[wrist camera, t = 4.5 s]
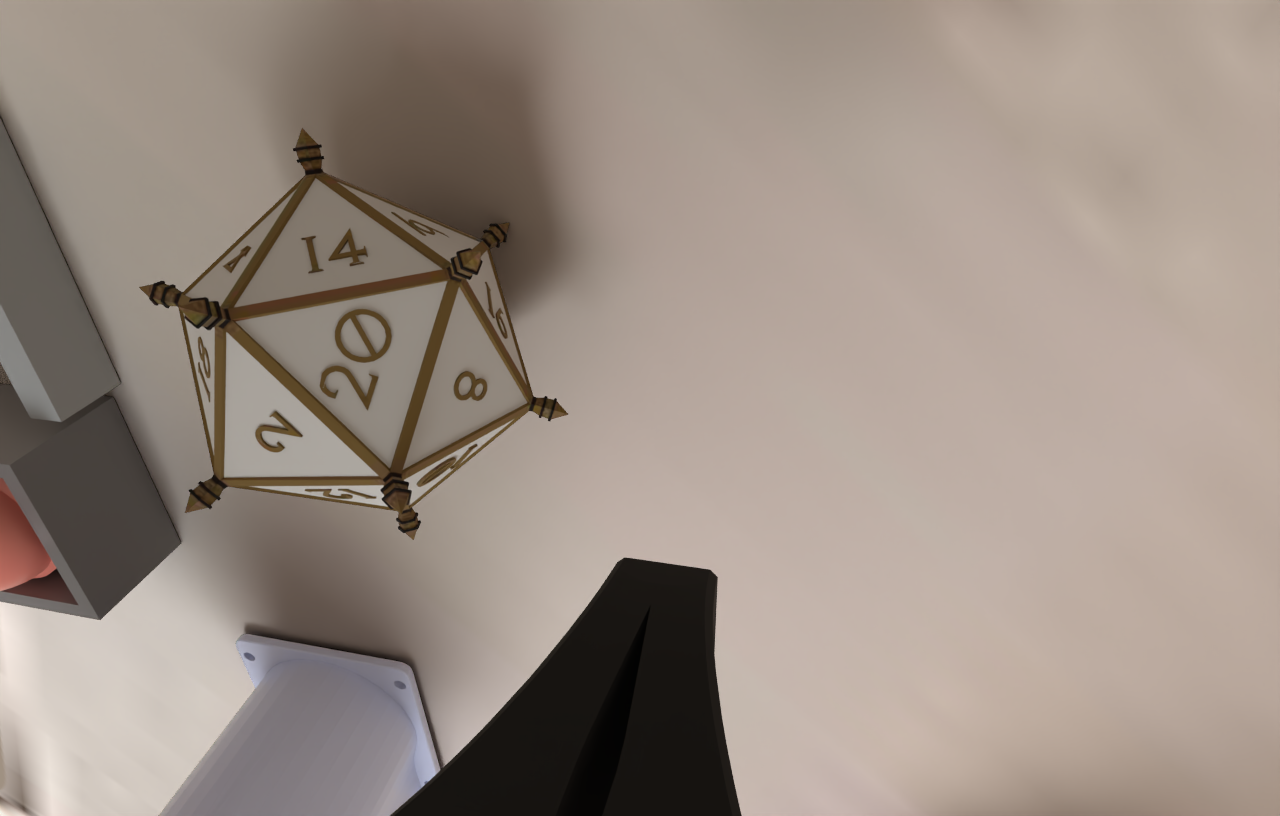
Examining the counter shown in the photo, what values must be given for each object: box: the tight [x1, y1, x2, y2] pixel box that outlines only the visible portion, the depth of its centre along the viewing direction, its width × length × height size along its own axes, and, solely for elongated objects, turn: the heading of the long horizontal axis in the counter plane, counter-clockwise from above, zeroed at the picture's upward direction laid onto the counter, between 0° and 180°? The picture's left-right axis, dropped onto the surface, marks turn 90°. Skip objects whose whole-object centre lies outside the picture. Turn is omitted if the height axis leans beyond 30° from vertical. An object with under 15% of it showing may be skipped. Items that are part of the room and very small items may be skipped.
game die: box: [139, 128, 568, 540], centre depth 18 cm, size 9×8×10 cm
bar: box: [0, 118, 121, 422], centre depth 23 cm, size 9×1×2 cm, turn 2°
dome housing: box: [0, 384, 181, 620], centre depth 27 cm, size 7×7×4 cm
